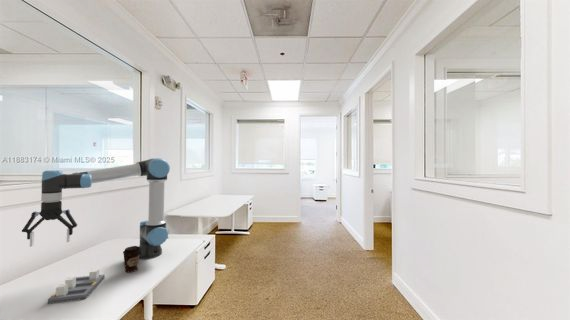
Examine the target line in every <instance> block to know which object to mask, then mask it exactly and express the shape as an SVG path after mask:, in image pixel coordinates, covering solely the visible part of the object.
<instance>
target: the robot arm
mask: <svg viewBox="0 0 570 320" xmlns="http://www.w3.org/2000/svg"><path fill="white" fill-rule="evenodd" d="M170 167H171V166H170V165H169V162H167V161H166V159H164V158H163V159H162V158H159V157H158V158H157V157H156V158H149V159H146V160H141V161H137V162H135V163H134V164H127V165H121V166H113V167H106V168H102V169H101V168H100V169H94V170H87V171H81V172H74V173H73V172H72V173H70V174H68V173H67V174H65V173H63V170H44V171H42V173H41V174H42V176H41V198H40V199H41V200H40V201H41V203H40V211H33V212H31V215H30V218H29V219H28V221H27V222H26V224H25V225H24V227H23V229H22V230H21V232H22V233H26V239H27V240H29V247H34V245H35V230H34V229H36V228H37V227H38V226H39V225H40V224H41V223H43V221H50V220H51V221H55V220H58V221H59V222H60V223H62V224H63V225H64V226H65V227H66V243H69V242H70V241H71V236H72V235H73V231H74V228H76V227H77V226H78V224H77V222H76V221H75V219H74V217H73V216H72V215H71V210H70V209H65V210H63V206H62V205H63V204H62V203H63V201H62V200H63V199H62V198H63V190H65V189H66V190H67V189H87V188H88V189H89V188H91V187H92V185H93V184H98V183H102V182H107V181H108V182H109V181H113V180H120V179H125V178H130V177H132V178H133V177H136V176H137V177H144V176H145V177H146V181H147V182H148V184H149V186H148V219H147V220H142V221H140V223H139V245H138V247H139V250H140V251H139V259H142V260H143V259H153V258H155V257H159V256H160V255H162V254H163V249H162V245H163V244H164V243H165V242H166V241H167V239H168V237H169V232H168V229H167V221H166V220H165V219H164V217H165V210H164V209H165V182H167V180H168V174H169V173H170V169H171V168H170ZM62 214H63V215H65V216H66V217H67V219H68V221H69V222H68V221H67V220H66V219H65V218H64V217H63V216H62ZM38 216H40V217H41V218H39V220H38V221H36V222H35V223H34V224H33V222H34V220H36V217H38ZM32 224H33V225H32ZM31 225H32V226H31ZM30 226H31V227H30Z"/></svg>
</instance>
